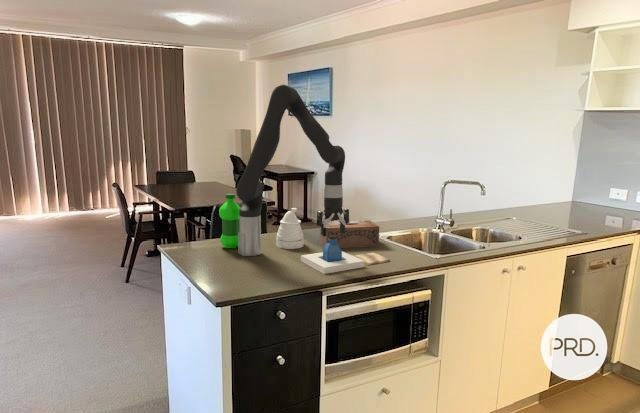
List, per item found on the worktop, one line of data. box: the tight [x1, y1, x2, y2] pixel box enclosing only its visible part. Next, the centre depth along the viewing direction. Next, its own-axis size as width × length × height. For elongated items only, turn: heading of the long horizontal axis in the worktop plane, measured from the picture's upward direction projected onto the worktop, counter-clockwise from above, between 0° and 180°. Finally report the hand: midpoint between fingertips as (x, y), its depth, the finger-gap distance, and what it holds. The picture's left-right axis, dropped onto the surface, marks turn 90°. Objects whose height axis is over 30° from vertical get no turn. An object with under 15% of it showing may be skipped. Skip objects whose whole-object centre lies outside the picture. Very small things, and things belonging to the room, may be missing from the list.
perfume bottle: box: [322, 235, 343, 263], centre depth 183 cm, size 6×6×12 cm
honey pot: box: [276, 207, 304, 250], centre depth 211 cm, size 13×13×18 cm
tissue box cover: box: [319, 219, 380, 249], centre depth 216 cm, size 26×14×10 cm, turn 102°
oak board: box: [353, 252, 391, 266], centre depth 191 cm, size 12×12×1 cm
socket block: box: [300, 250, 365, 275], centre depth 183 cm, size 19×19×2 cm
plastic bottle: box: [218, 193, 241, 249], centre depth 205 cm, size 10×10×25 cm
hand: (333, 235), depth 182 cm, fingers open, 8 cm apart
